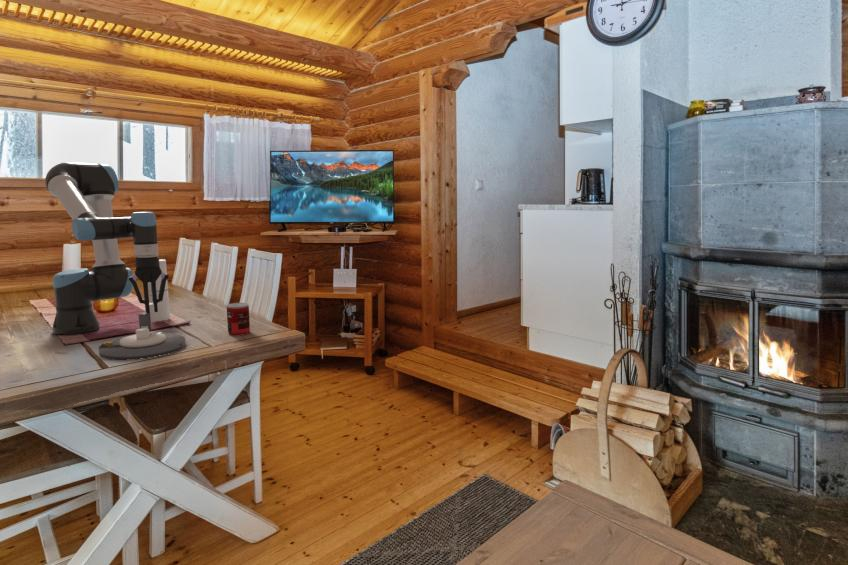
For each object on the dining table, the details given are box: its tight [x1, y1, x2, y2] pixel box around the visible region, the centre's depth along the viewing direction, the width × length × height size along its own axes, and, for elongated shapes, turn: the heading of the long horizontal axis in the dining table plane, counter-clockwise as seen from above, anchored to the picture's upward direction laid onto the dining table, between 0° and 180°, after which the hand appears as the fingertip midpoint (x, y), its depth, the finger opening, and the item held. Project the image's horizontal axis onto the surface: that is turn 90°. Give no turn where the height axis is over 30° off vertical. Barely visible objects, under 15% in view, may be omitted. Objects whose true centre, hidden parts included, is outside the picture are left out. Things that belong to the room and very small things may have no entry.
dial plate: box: [98, 331, 187, 361], centre depth 181 cm, size 26×26×2 cm
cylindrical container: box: [148, 258, 171, 322], centre depth 222 cm, size 7×7×25 cm
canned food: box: [226, 302, 251, 336], centre depth 201 cm, size 8×8×11 cm
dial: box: [119, 312, 166, 348], centre depth 182 cm, size 19×14×8 cm
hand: (152, 321), depth 191 cm, fingers closed
